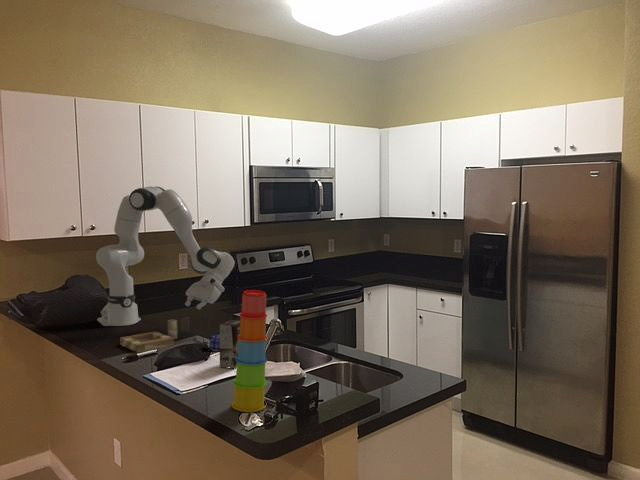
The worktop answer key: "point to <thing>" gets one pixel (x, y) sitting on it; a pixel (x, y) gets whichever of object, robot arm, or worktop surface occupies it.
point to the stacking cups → (251, 354)
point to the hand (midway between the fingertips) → (192, 306)
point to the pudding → (215, 343)
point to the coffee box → (229, 343)
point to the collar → (146, 341)
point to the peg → (172, 328)
